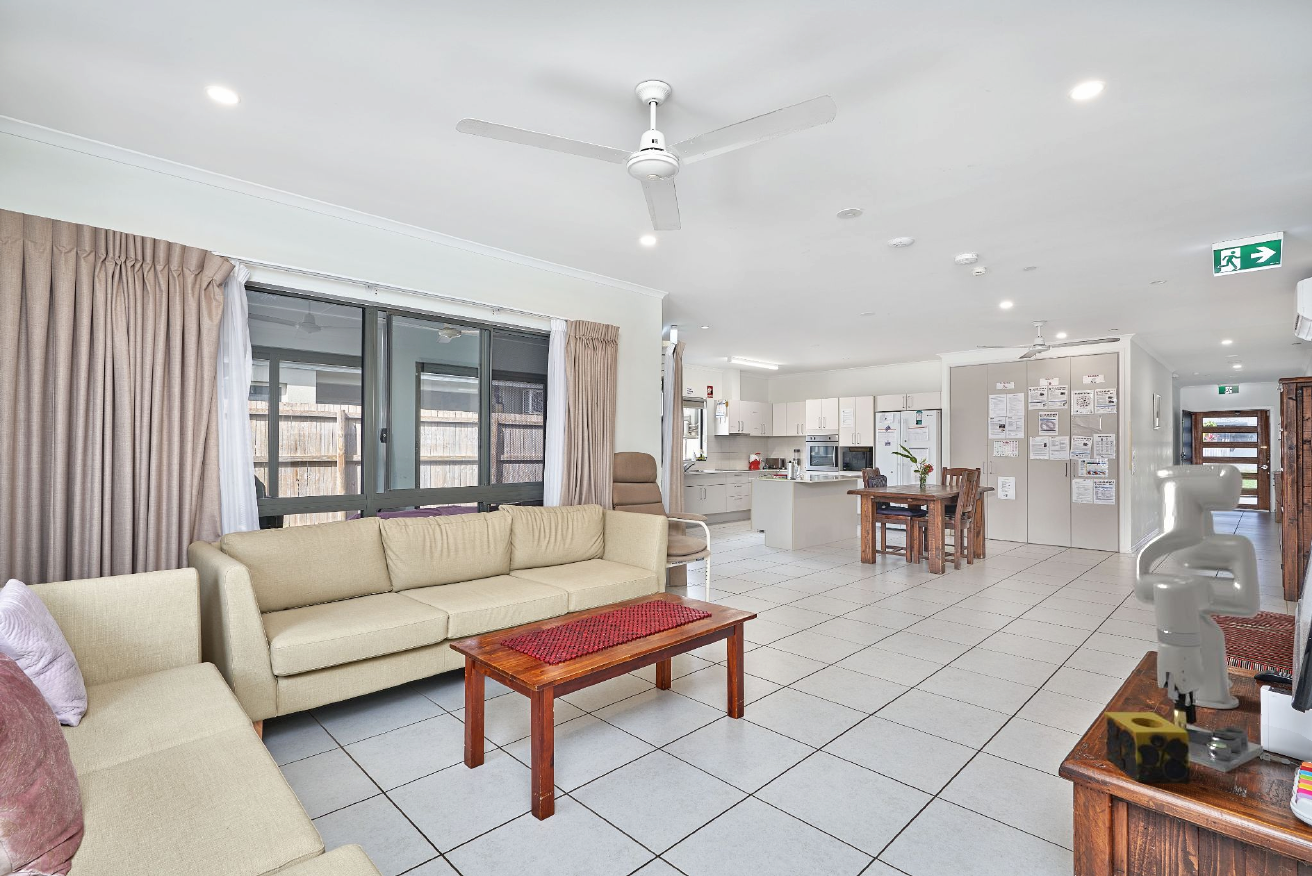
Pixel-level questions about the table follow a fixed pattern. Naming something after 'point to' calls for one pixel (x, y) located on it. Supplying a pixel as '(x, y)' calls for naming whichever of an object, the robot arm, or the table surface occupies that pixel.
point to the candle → (1147, 747)
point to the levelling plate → (1220, 765)
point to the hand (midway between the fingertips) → (1186, 721)
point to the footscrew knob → (1207, 737)
